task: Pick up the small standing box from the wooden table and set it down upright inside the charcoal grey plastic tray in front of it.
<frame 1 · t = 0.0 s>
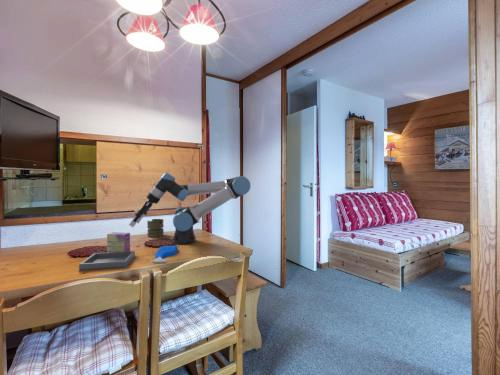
hand: (133, 224, 152), 15 cm above the table, tool tilted 35°, fingers open, 13 cm apart
tray: (109, 262, 128), on the table
dark green block: (155, 236, 190), on the table
box: (118, 254, 143), on the table
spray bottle: (164, 257, 140), on the table
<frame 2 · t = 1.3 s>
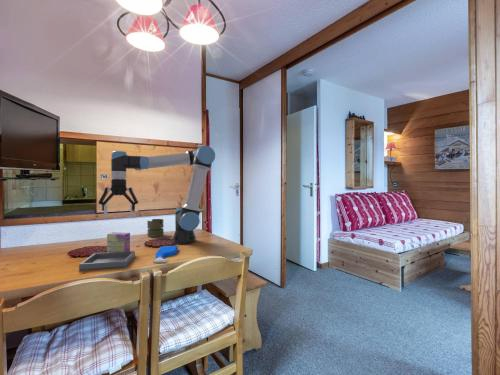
hand: (118, 216, 143), 21 cm above the table, tool pointing down, fingers open, 13 cm apart
nothing on the table moved.
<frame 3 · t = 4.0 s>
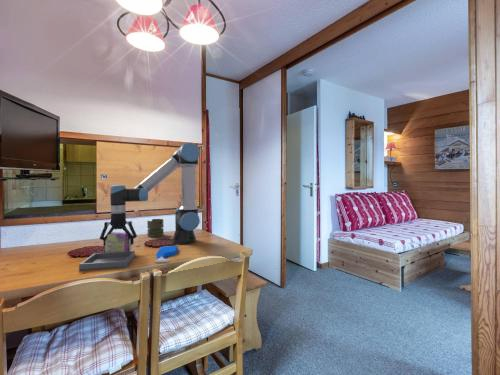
hand: (118, 250, 143), 2 cm above the table, tool pointing down, fingers closed on box, 11 cm apart
box: (118, 254, 143), on the table, touching gripper
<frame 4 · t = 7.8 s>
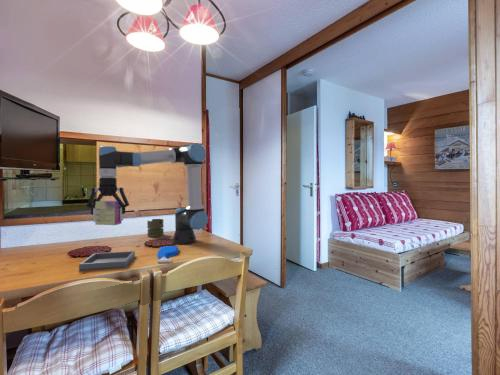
hand: (108, 220, 127), 21 cm above the table, tool pointing down, fingers closed on box, 11 cm apart
box: (108, 224, 127), point 19 cm above the table, touching gripper
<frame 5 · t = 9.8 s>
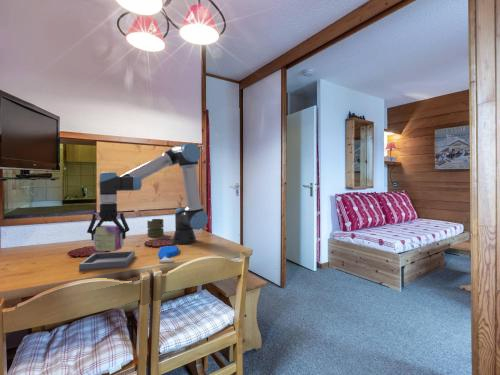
hand: (108, 246, 127), 9 cm above the table, tool pointing down, fingers closed on box, 11 cm apart
box: (109, 249, 127), point 7 cm above the table, touching gripper
when the fingers open (5 cm above the table, at t = 11.7 s): box drops 2 cm, resting on tray.
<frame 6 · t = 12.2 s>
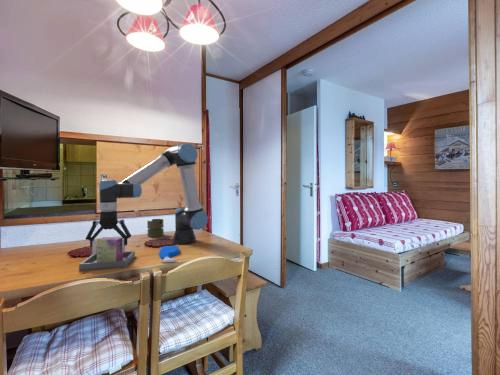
hand: (109, 252, 127), 5 cm above the table, tool pointing down, fingers open, 13 cm apart
box: (110, 262, 128), resting on tray
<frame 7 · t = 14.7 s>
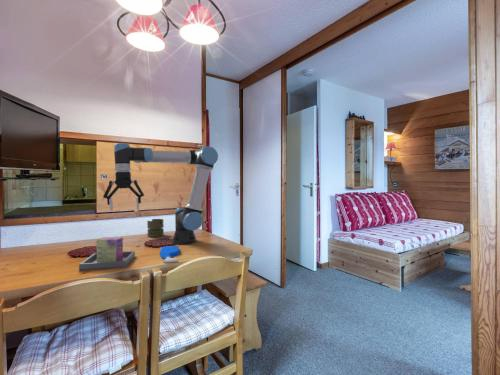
hand: (124, 210, 140), 25 cm above the table, tool pointing down, fingers open, 13 cm apart
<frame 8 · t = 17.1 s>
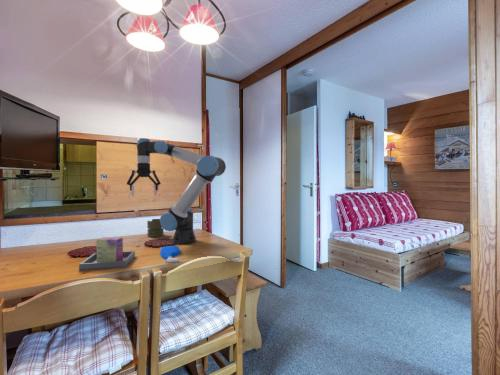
hand: (144, 195, 164), 32 cm above the table, tool pointing down, fingers open, 13 cm apart
at the end: box inside the target area on the tray (0.3 cm from its centre), point 0.4 cm above the tray's base; box tilted 0°; the gripper is holding nothing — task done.
